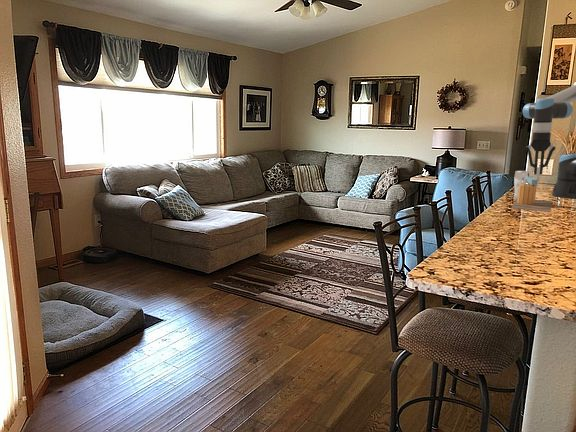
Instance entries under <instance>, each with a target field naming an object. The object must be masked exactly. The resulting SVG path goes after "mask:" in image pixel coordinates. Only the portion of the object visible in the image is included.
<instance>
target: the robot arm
mask: <svg viewBox="0 0 576 432" xmlns="http://www.w3.org/2000/svg"><path fill="white" fill-rule="evenodd" d="M573 102H576V82H574V83H573V84H572V85H571V86H569V87H568V88H565V89H563V90H561V91H559V92H557V93H554V94H552V95H550V96H548V97H546V98H537V99H536V101H535V102H531V103H526V104H525V105H524V106H523V108H522V115H523V117H524V118H525V119H531V120H533V128H532V131H533V132H532V137H531V138H532V140H531V142H530V144H529V145H527V146H525V150H526V152H527V155H528V159H529V164H530V165H529V166H530V167H532V168H533V174H534V175H535V179H537V180H538V181H537V183H538V182H539V183H540V175H543V169H544V168H545V167H546V168H547V167H548V165H549V164H550V163H549V162H550V160H551V158H552V155H553V152H554V151H555V150H556V146H554V145H552V142H551V135H552V134H551V131H552V126H553V124H552V123H553V119H555V120H556V119H563V120H564V119H567V118H569V117H570V116H571V115H572V114H573V111H574V110H573V109H574V107H573V105H572V104H571V103H573ZM532 149H533V150H534V152H535V153H534V154H535V155H534V161H533V158H532V152H531V150H532ZM548 149H549V152H548V154H547V156H546V160H545V152H546V151H547V150H548ZM539 153H540V163H539V166H538V162H539ZM533 162H534V163H533ZM557 170H558V171H557V178H556V179H557V180H556V182H555V185H554V186H553V189H552V191H551V196H553V197H558V198H565V199H566V198H567V199H576V153H570V154H562V155H561V156H559V160H558V168H557Z"/></svg>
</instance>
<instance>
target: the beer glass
mask: <svg viewBox="0 0 576 432" xmlns="http://www.w3.org/2000/svg"><path fill="white" fill-rule="evenodd" d="M526 176H530V171H528V170H515V172H514V177H513V178H514V179H513V180H514V181H513V185H514V186H513V187H514V194H513V200H516V199H517V198H518V188H519V184H526V182H525V181H526Z"/></svg>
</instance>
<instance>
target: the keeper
mask: <svg viewBox="0 0 576 432" xmlns="http://www.w3.org/2000/svg"><path fill="white" fill-rule="evenodd" d="M525 182H528V183H529V184H531V185H537V186H538V180H537V179H536V177H533V176H530V175H529V176H526V181H525Z"/></svg>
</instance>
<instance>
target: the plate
mask: <svg viewBox="0 0 576 432" xmlns="http://www.w3.org/2000/svg"><path fill="white" fill-rule="evenodd" d="M514 200H515V201H514V202H513V204H512V205H511V207H510V209H513V210H526V211H535V212H536V211H538V212H545V213H546V212H548V213H551V209H552V205H553V204H552V203H553V201H551V200H542V199H541V200H540V199H535V204H531V205H528V204H519V203H517V199H514Z"/></svg>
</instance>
